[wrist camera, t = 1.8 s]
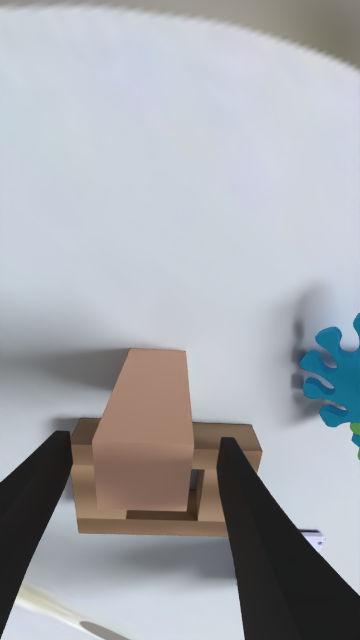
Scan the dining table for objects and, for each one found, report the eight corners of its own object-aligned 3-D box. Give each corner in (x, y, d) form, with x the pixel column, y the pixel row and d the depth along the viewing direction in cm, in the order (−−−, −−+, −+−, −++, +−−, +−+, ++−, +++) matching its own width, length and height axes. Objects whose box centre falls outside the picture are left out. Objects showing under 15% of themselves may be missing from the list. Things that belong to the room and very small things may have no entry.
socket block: (234, 505, 22) (241, 536, 20) (89, 501, 22) (78, 533, 19) (251, 425, 19) (262, 451, 17) (80, 418, 18) (67, 444, 16)
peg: (181, 396, 18) (186, 511, 10) (130, 394, 18) (97, 509, 10) (185, 351, 17) (194, 445, 9) (130, 348, 16) (91, 440, 9)
